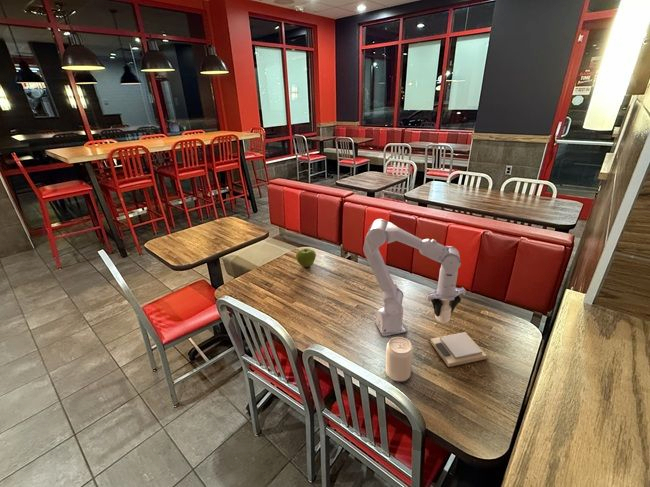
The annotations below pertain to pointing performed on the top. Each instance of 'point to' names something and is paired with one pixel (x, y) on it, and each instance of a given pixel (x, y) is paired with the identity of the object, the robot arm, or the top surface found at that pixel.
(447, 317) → the pepper shaker
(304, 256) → the apple
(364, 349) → the top surface
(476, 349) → the scale
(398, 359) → the beverage can
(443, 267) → the robot arm
